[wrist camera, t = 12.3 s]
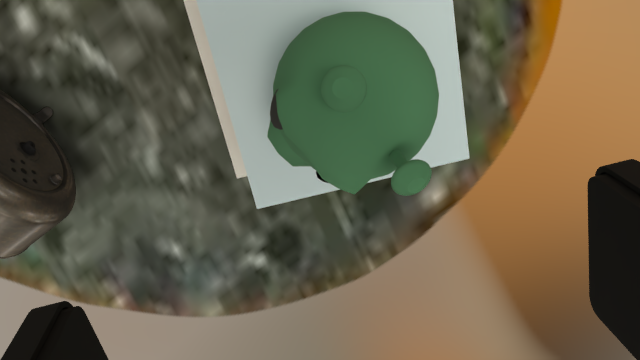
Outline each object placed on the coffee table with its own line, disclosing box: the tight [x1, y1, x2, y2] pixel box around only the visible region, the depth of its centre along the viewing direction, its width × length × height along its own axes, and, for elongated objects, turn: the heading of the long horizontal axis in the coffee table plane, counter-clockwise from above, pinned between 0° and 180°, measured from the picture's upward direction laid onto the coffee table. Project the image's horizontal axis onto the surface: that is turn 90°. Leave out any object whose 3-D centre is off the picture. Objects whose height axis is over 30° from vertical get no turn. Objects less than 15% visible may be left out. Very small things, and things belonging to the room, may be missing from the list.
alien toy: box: [267, 12, 439, 196], centre depth 23 cm, size 7×8×10 cm
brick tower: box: [184, 0, 469, 209], centre depth 33 cm, size 16×16×11 cm
